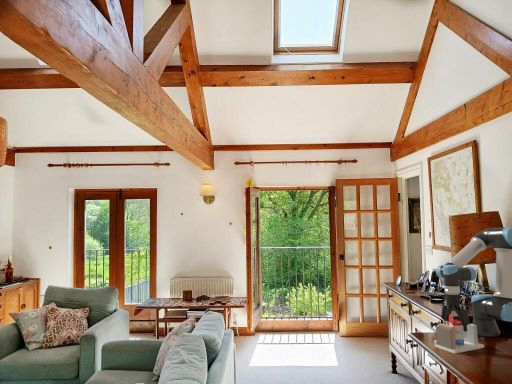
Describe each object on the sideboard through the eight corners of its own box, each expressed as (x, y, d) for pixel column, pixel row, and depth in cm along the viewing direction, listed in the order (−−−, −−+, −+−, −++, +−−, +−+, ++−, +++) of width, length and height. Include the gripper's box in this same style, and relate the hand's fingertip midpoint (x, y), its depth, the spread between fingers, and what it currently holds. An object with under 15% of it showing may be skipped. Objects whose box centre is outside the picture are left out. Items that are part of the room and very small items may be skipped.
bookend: (463, 339, 210) (462, 321, 211) (478, 343, 202) (476, 325, 203) (460, 340, 209) (458, 322, 211) (474, 344, 201) (473, 325, 202)
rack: (463, 341, 213) (461, 318, 214) (484, 347, 201) (481, 323, 202) (434, 346, 205) (432, 323, 206) (454, 353, 193) (452, 328, 194)
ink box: (464, 345, 198) (462, 317, 199) (454, 345, 199) (452, 317, 200) (459, 340, 206) (456, 313, 208) (449, 340, 207) (447, 313, 209)
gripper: (431, 291, 214) (435, 331, 212) (465, 297, 194) (469, 341, 191) (441, 290, 217) (445, 329, 215) (475, 295, 197) (479, 339, 194)
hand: (456, 335), depth 203 cm, fingers closed on ink box, 9 cm apart
